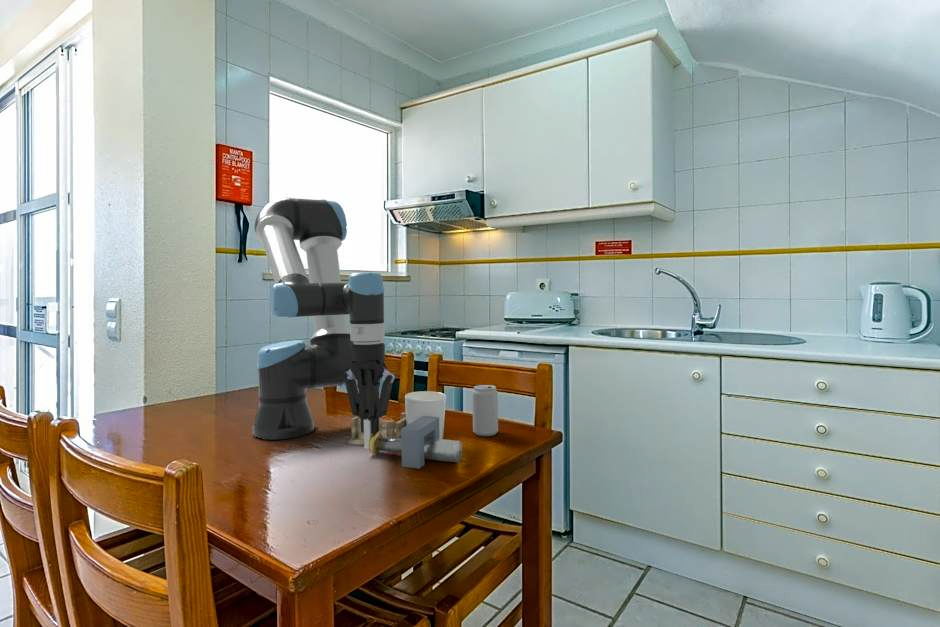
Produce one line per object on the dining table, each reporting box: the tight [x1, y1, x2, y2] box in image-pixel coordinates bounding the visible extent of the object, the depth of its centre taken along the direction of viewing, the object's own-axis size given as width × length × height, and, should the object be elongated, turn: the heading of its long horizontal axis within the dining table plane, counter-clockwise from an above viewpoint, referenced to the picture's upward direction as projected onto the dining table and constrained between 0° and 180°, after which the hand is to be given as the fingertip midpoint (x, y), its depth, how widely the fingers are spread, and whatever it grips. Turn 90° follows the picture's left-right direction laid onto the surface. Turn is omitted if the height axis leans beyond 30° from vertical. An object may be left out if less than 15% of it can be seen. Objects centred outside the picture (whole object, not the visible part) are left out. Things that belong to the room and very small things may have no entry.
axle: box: [424, 438, 463, 463], centre depth 112 cm, size 9×4×4 cm, turn 71°
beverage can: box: [471, 384, 499, 437], centre depth 131 cm, size 6×6×12 cm
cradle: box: [348, 411, 406, 446], centre depth 127 cm, size 14×10×6 cm
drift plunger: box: [368, 433, 402, 455], centre depth 115 cm, size 11×5×5 cm, turn 71°
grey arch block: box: [401, 416, 439, 470], centre depth 113 cm, size 4×11×8 cm, turn 161°
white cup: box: [404, 390, 447, 439], centre depth 124 cm, size 10×10×12 cm
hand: (370, 447), depth 117 cm, fingers closed
